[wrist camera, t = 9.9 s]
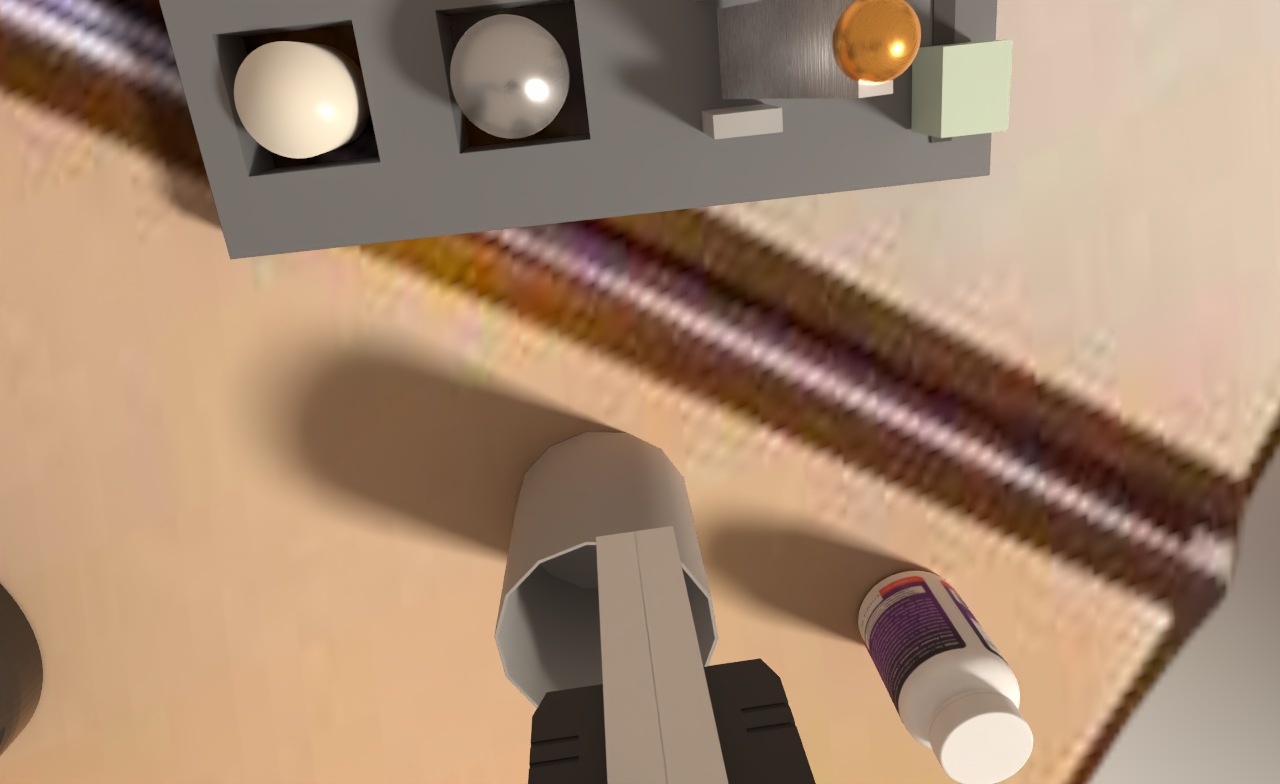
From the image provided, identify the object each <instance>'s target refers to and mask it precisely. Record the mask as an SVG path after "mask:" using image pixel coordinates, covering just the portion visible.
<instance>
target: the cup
mask: <svg viewBox="0 0 1280 784" xmlns="http://www.w3.org/2000/svg"><path fill="white" fill-rule="evenodd" d="M668 526H673V528H674V533H675V538H676V542H677V547H678V552H679V556H680V561H681V566H682V570H683V575H684V580H685V584H686V589H687V594H688V598H689V603H690V607H691V612H692V617H693V621H694V626H695V631H696V635H697V640H698V645H699V649H700V654H701V659H702V663H703V667H706V666H708V665H709V662H710V659H711V656H712V654H713V651H714V648H715V646H716V643H717V640H718V635H717V629H716V623H715V617H714V611H713V605H712V600H711V595H710V590H709V586H708V582H707V577H706V573H705V568H704V564H703V560H702V555H701V551H700V547H699V542H698V538H697V533H696V529H695V525H694V520H693V516H692V512H691V507H690V503H689V498H688V494H687V490H686V485H685V481H684V477H683V476H682V475H681V474H680V472H679V471H678V470H677V468H676V467H675V466H674V465H673V463H672V462H671V461H670V460H669V458H668V457H667V456H666V455H665V453H664V452H663V451H662V449H660V448H658V447H656V446H654V445H651V444H649V443H647V442H645V441H643V440H641V439H639V438H637V437H635V436H633V435H631V434H628V433H624V432H584V433H582V434H579V435H577V436H574V437H572V438H569V439H567V440H565V441H562V442H560V443H557V444H555V445H552V446H550V447H549V448H548V449H547V450H546V451H545V452H544V453H543V455H542V456H541V457H540V458H539V459H538V460H537V461H536V462H535V463H534V464H533V466H532V467H531V468H530V469H529V470H528V471H527V472H526V473H525V475H524V478H523V482H522V486H521V490H520V494H519V498H518V501H517V505H516V510H515V516H514V522H513V528H512V534H511V540H510V546H509V552H508V558H507V564H506V570H505V576H504V582H503V588H502V594H501V600H500V606H499V612H498V618H497V625H496V631H495V640H496V644H497V647H498V651H499V654H500V658H501V661H502V665H503V668H504V672H505V675H506V677H507V678H508V679H509V680H510V681H511V682H512V683H513V684H514V685H515V686H516V687H517V689H518V690H519V691H520V692H521V693H522V694H523V695H524V696H525V697H526V698H527V699H528V700H529V701H530V702H531V703H532V704H533V705H534V706H535V707H536V708H538V706H539V705H540V703H541V701H542V699H543V698H544V696H545V694H546V692H552V691H559V690H565V689H572V688H579V687H585V686H592V685H599V684H603V675H602V654H601V633H600V611H599V590H598V569H597V547H596V537H599V536H606V535H613V534H620V533H627V532H633V531H640V530H647V529H654V528H661V527H668Z"/></svg>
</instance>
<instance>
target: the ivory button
mask: <svg viewBox="0 0 1280 784" xmlns="http://www.w3.org/2000/svg"><path fill="white" fill-rule="evenodd" d="M234 100H235V105H236V109H237V112H238V115H239V117H240V120H241V122H242V124H243V125H244V127H245V129H246V130H247V131H248V132H249V134H250V135H251V136H252V137H253V138H254V139H255V140H256V141H257V142H258V143H259V144H260V145H262V146H263V147H265V148H266V149H268V150H269V151H271V152H273V153H275V154H278V155H281V156H284V157H289V158H297V159H299V158H309V157H313V156H316V155H319V154H322V153H325V152H328V151H331V150H334V149H337V148H340V147H343V146H346V145H348V144H350V143H351V142H352V141H354V140H355V139H356V138H357V137H358V136H359V135H360V134H361V133H362V132H363V130H364V128H365V127H366V125H367V122H368V120H369V117H370V108H369V103H368V98H367V93H366V88H365V83H364V78H363V73H362V71H361V70H360V68H359V67H358V66H357V64H356V63H355V62H354V61H353V60H352V59H351V58H350V57H348V56H347V55H346V54H344V53H343V52H341V51H340V50H338V49H336V48H333V47H331V46H328V45H324V44H316V43H304V42H291V41H277V42H271V43H268V44H265V45H262V46H260V47H259V48H257V49H255V50H254V51H253V52H251V53H250V54H249V55H248V56H247V57H246V58H245V60H244V61H243V62H242V64H241V66H240V68H239V70H238V72H237V75H236V78H235V83H234Z"/></svg>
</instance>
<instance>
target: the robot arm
mask: <svg viewBox="0 0 1280 784" xmlns="http://www.w3.org/2000/svg"><path fill="white" fill-rule="evenodd" d="M596 547H597V569H598V590H599V611H600V633H601V654H602V675H603V684H599V685H592V686H585V687H579V688H572V689H565V690H559V691H552V692H546V694H545V696H544V698H543V699H542V701H541V703H540V705H539V706H538V708H537V710H536V711H535V713H534V715H533V717H532V732H531V748H530V769H529V779H528V784H816V783H815V780H814V777H813V774H812V771H811V769H810V766H809V763H808V760H807V757H806V754H805V751H804V748H803V745H802V742H801V739H800V736H799V733H798V730H797V727H796V726H795V721H794V718H793V715H792V712H791V709H790V706H789V705H788V700H787V697H786V694H785V691H784V688H783V685H782V682H781V679H780V677H779V676H778V675H777V674H776V673H775V672H774V671H773V670H772V669H771V668H770V667H768V666H767V665H766V664H765V663H764V662H763V661H762V660H761V659H754V660H747V661H740V662H733V663H727V664H720V665H713V666H706V667H703V663H702V659H701V654H700V649H699V645H698V640H697V635H696V631H695V626H694V621H693V617H692V612H691V607H690V603H689V598H688V594H687V589H686V584H685V580H684V575H683V570H682V566H681V561H680V556H679V552H678V547H677V542H676V538H675V533H674V528H673V526H668V527H661V528H654V529H647V530H640V531H633V532H627V533H620V534H613V535H606V536H599V537H596ZM42 681H43V668H42V660H41V654H40V650H39V646H38V643H37V640H36V638H35V635H34V632H33V630H32V628H31V626H30V624H29V622H28V620H27V619H26V617H25V615H24V613H23V612H22V610H21V609H20V607H19V606H18V605H17V603H16V602H15V601H14V599H13V598H12V597H11V595H10V594H9V593H8V592H7V591H6V590H5V589H4V588H3V586H1V585H0V756H1V755H2V754H3V752H4V751H5V750H6V749H7V748H8V746H9V745H10V744H11V743H12V742H13V741H14V739H15V738H16V737H17V736H18V735H19V734H20V732H21V731H22V730H23V729H24V728H25V726H26V725H27V724H28V722H29V721H30V719H31V717H32V716H33V714H34V712H35V709H36V707H37V705H38V702H39V699H40V695H41V690H42Z"/></svg>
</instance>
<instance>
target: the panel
mask: <svg viewBox="0 0 1280 784" xmlns="http://www.w3.org/2000/svg"><path fill="white" fill-rule="evenodd" d="M757 1H762V0H159V2H160V5H161V9H162V13H163V16H164V20H165V23H166V27H167V31H168V34H169V38H170V42H171V45H172V49H173V53H174V56H175V60H176V63H177V67H178V71H179V74H180V78H181V82H182V85H183V89H184V93H185V96H186V100H187V103H188V107H189V111H190V114H191V118H192V122H193V125H194V129H195V133H196V136H197V140H198V143H199V147H200V151H201V154H202V158H203V162H204V165H205V169H206V173H207V176H208V180H209V183H210V187H211V191H212V194H213V198H214V202H215V205H216V209H217V213H218V216H219V220H220V223H221V227H222V231H223V234H224V238H225V242H226V245H227V249H228V253H229V256H230V259H237V258H246V257H255V256H264V255H273V254H282V253H291V252H300V251H309V250H318V249H327V248H336V247H346V246H355V245H364V244H373V243H382V242H391V241H400V240H409V239H418V238H427V237H436V236H445V235H454V234H463V233H472V232H481V231H490V230H499V229H508V228H517V227H526V226H535V225H544V224H553V223H562V222H571V221H580V220H589V219H598V218H607V217H616V216H625V215H635V214H644V213H653V212H662V211H671V210H680V209H689V208H698V207H707V206H716V205H725V204H734V203H743V202H752V201H761V200H770V199H779V198H788V197H797V196H806V195H815V194H824V193H833V192H842V191H851V190H860V189H869V188H878V187H887V186H896V185H905V184H914V183H924V182H933V181H942V180H951V179H960V178H969V177H978V176H987V175H989V174H990V151H991V133H983V134H974V135H965V136H956V137H946V138H938V137H933V136H929V135H924V134H919V133H914V132H911V124H912V63H911V65H910V66H909V67H908V68H907V69H906V70H905V71H904V72H903V73H902V74H901V75H900V76H898V77H897V78H895V79H893V94H886V95H879V96H871V97H864V98H815V99H722V87H721V71H720V55H719V39H718V23H717V9H721V8H726V7H731V6H737V5H742V4H747V3H752V2H757ZM905 1H906V2H908V3H909V4H910V5H911V6H912V8H913V9H914V11H915V12H916V14H917V16H918V19H919V22H920V28H921V40H920V46H919V48H921V47H930V46H939V45H949V44H958V43H967V42H976V41H994V40H995V38H996V15H997V0H905ZM565 2H575V10H576V19H577V27H578V36H579V45H580V53H581V62H582V70H583V79H584V87H585V96H586V104H587V113H588V122H589V130H590V134H581V135H572V136H563V137H554V138H545V139H536V140H526V141H517V142H508V143H499V144H490V145H481V146H472V147H470V145H469V139H468V133H467V127H466V121H465V115H464V113H463V112H462V110H461V109H460V107H459V105H458V103H457V101H456V99H455V97H454V94H453V90H452V86H451V79H450V67H451V60H452V56H453V53H454V49H453V43H452V37H451V31H450V24H449V18H448V15H453V14H462V13H471V12H481V11H490V10H499V9H509V8H518V7H527V6H537V5H546V4H556V3H565ZM350 25H353V29H354V34H355V39H356V44H357V49H358V53H359V58H360V63H361V68H362V73H363V78H364V83H365V88H366V93H367V98H368V103H369V108H370V113H371V117H372V122H373V127H374V132H375V137H376V142H377V147H378V152H379V157H371V158H362V159H353V160H343V161H334V162H325V163H316V164H307V165H298V166H288V167H279V168H275V164H274V160H273V156H272V152H271V151H269V150H268V149H266V148H265V147H263V146H262V145H260V144H259V143H258V142H257V141H256V140H255V139H254V138H253V137H252V136H251V135H250V134H249V132H248V131H247V130H246V129H245V127H244V125H243V124H242V122H241V120H240V117H239V115H238V112H237V109H236V105H235V100H234V83H235V78H236V75H237V72H238V70H239V68H240V66H241V64H242V62H243V61H244V60H245V58H246V57H247V56H248V54H247V50H246V46H245V42H244V38H243V37H247V36H256V35H265V34H275V33H284V32H293V31H303V30H312V29H322V28H331V27H340V26H350Z"/></svg>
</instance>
